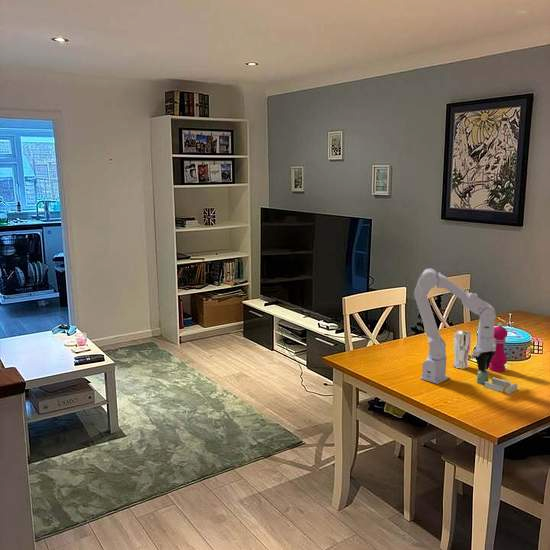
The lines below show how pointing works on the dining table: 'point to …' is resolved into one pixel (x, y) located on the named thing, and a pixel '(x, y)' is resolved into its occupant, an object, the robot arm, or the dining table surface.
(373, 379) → the dining table surface
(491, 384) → the rest
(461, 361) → the pale grey carved column
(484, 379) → the bottle
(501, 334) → the pepper mill
